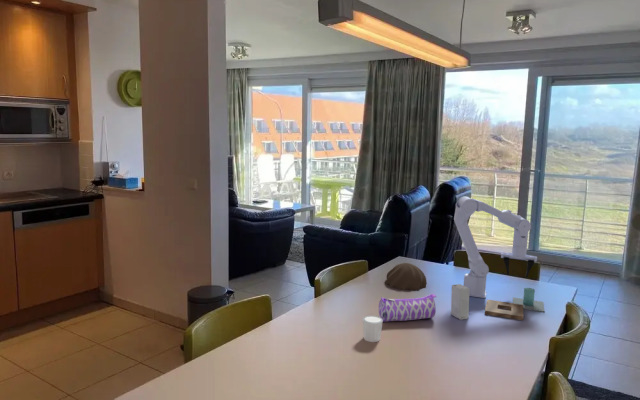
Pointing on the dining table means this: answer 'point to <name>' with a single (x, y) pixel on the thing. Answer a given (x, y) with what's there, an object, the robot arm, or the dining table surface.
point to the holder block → (513, 314)
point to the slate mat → (536, 306)
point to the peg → (528, 296)
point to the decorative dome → (406, 277)
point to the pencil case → (407, 308)
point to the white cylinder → (372, 328)
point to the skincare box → (460, 301)
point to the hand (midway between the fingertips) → (517, 275)
